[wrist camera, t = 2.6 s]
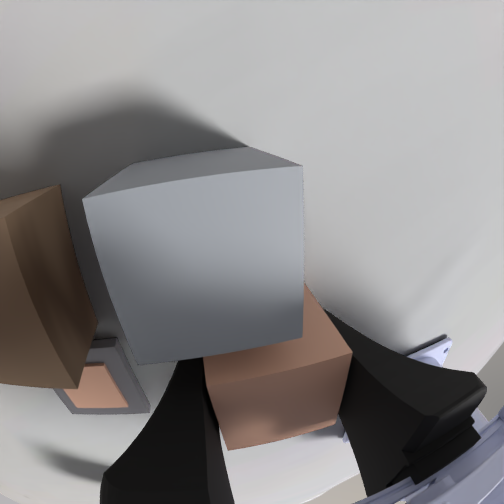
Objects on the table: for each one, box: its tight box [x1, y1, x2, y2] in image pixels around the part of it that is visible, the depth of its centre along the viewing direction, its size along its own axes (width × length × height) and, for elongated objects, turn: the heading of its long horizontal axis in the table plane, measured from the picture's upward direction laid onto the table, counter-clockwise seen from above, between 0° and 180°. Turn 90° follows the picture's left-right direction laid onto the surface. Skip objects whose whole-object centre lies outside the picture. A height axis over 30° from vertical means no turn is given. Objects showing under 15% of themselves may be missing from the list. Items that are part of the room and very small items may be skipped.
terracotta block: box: [203, 283, 353, 451], centre depth 10 cm, size 4×4×5 cm
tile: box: [53, 338, 150, 414], centre depth 12 cm, size 5×5×1 cm
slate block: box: [82, 147, 304, 365], centre depth 8 cm, size 4×4×5 cm
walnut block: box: [0, 185, 98, 389], centre depth 8 cm, size 6×6×4 cm
